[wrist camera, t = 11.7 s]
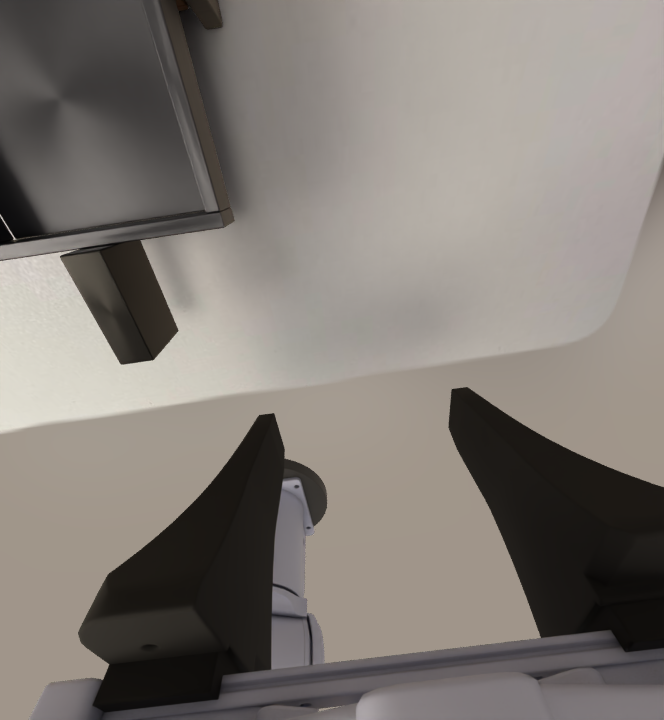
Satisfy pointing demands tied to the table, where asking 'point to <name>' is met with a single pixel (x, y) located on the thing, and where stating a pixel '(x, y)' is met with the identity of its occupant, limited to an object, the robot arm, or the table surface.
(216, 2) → the bracket
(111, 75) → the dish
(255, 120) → the table surface
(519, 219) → the table surface
